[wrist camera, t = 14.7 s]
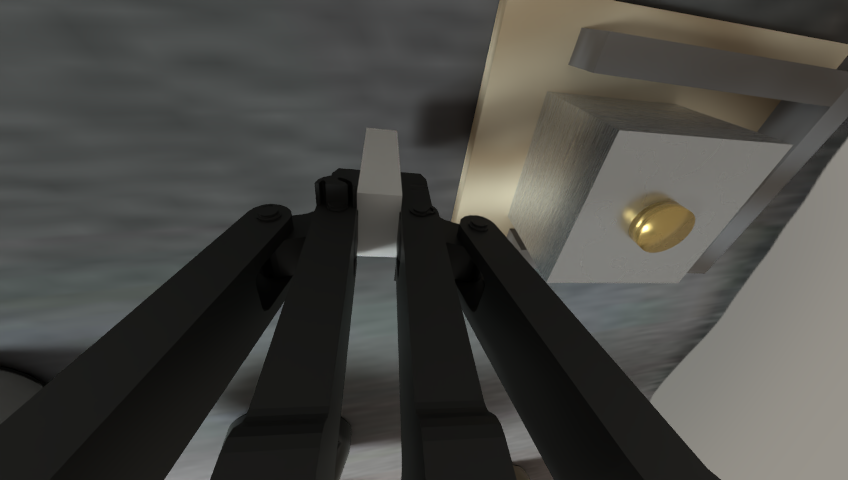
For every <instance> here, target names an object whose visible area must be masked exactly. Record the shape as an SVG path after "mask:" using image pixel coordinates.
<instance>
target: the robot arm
mask: <svg viewBox="0 0 848 480" xmlns="http://www.w3.org/2000/svg"><path fill="white" fill-rule="evenodd" d="M428 191H429V190H428V187H427V181H426V179H425V178H424V177H423V176H422V175H421V174H415V173H403V172H400V161H399V149H398V137H397V131H394V130H384V129H374V128H367V130H366V136H365V143H364V149H363V156H362V163H361V169H360V170H354V169H341V168H339V169H337V170H336V171H335V172H333V173H332V176H327V177H323V178H320V179H318V180H317V181H316V182H315V193H316V204H317V206H316V209H315V211H314V212H311V213H307V214H302V215H294V216H292V214H291V210H289V209H288V208H287V207H285V206H282V205H276V204H268V205H267V204H266V205H261V206H258V207H255V208H253V209H252V210H250V211H248V212H247V213H246V214H245V215H244V216H242V217H241V218H240V219H239V220H238V221H237V222H235V223H234V224H233V225H232V226H231V227H230V228H228V229H227V230H226V231H225V232H224V233H223V234H221V235H220V236H219V237H218V238H217V239H216V240H214V241H213V242H212V243H211V244H210V245H209V246H207V247H206V248H205V249H204V250H203V251H202V252H200V253H199V254H198V255H197V256H196V257H195V258H193V259H192V260H191V261H190V262H189V263H188V264H187V265H185V266H184V267H183V268H182V269H181V270H180V271H178V272H177V273H176V274H175V275H174V276H173V277H171V278H170V279H169V280H168V281H167V282H166V283H164V284H163V285H162V286H161V287H160V288H159V289H157V290H156V291H155V292H154V293H153V294H152V295H150V296H149V297H148V298H147V299H146V300H145V301H143V302H142V303H141V304H140V305H139V306H138V307H136V308H135V309H134V310H133V311H132V312H131V313H129V314H128V315H127V316H126V317H125V318H124V319H122V320H121V321H120V322H119V323H118V324H117V325H115V326H114V327H113V328H112V329H111V330H110V331H108V332H107V333H106V334H105V335H104V336H103V337H101V338H100V339H99V340H98V341H97V342H96V343H94V344H93V345H92V346H91V347H90V348H89V349H87V350H86V351H85V352H84V353H83V354H82V355H80V356H79V357H78V358H77V359H76V360H75V361H73V362H72V363H71V364H70V365H69V366H68V367H66V368H65V369H64V370H63V371H62V372H61V373H59V374H58V375H57V376H56V377H55V378H54V379H52V380H51V381H50V382H49V383H48V384H47V385H45V386H44V387H43V388H42V389H41V390H40V391H39V392H37V393H36V394H35V395H34V396H33V397H32V398H30V399H29V400H28V401H27V402H26V403H25V404H23V405H22V406H21V407H20V408H19V409H18V410H16V411H15V412H14V413H13V414H12V415H11V416H9V417H8V418H7V419H6V420H5V421H4V422H2V423H1V424H0V480H164V479H165V478H166V476H167V475H168V473H169V472H170V470H171V469H172V467H173V466H174V464H175V463H176V461H177V460H178V458H179V457H180V455H181V454H182V452H183V451H184V449H185V448H186V446H187V445H188V443H189V442H190V440H191V439H192V437H193V436H194V435H195V433H196V432H197V430H198V429H199V427H200V426H201V424H202V423H203V421H204V420H205V418H206V417H207V415H208V414H209V412H210V411H211V409H212V408H213V406H214V405H215V403H216V402H217V400H218V399H219V397H220V396H221V394H222V393H223V392H224V390H225V389H226V387H227V386H228V384H229V383H230V381H231V380H232V378H233V377H234V375H235V374H236V372H237V371H238V369H239V368H240V366H241V365H242V363H243V362H244V360H245V359H246V357H247V356H248V354H249V353H250V351H251V350H252V349H253V347H254V346H255V344H256V343H257V341H258V340H259V338H260V337H261V335H262V334H263V332H264V331H265V329H266V328H267V326H268V325H269V323H270V322H271V320H272V319H273V317H274V316H275V314H276V313H277V311H278V310H279V308H280V307H281V305H282V304H283V303H284V305H283V308H282V311H281V314H280V317H279V320H278V323H277V326H276V329H275V332H274V335H273V338H272V341H271V344H270V347H269V350H268V353H267V356H266V359H265V362H264V365H263V368H262V371H261V374H260V377H259V380H258V384H257V387H256V390H255V393H254V396H253V399H252V402H251V405H250V408H249V410H248V413H247V414H246V415H244V416H242V417H240V418H238V419H237V420H235V421H234V422H233V423H232V424H231V425H230V427H229V429H228V432H227V435H226V438H225V440H224V443H223V446H222V450H221V452H220V454H219V457H218V460H217V462H216V465H215V468H214V471H213V473H212V476H211V479H210V480H339V479H340V477H341V474H342V471H343V468H344V465H345V463H346V460H347V457H348V454H349V450H350V442H351V427H350V425H349V424H348V423H347V422H346V421H345V420H344V419H342V418H341V407H342V398H343V389H344V379H345V370H346V360H347V351H348V342H349V332H350V323H351V314H352V304H353V295H354V286H355V276H356V267H357V256H375V257H396V254H397V259H396V269H395V278H394V281H396V289H397V320H398V351H399V382H400V414H401V445H402V477H401V480H517V479H516V475H515V472H514V468H513V464H512V460H511V457H510V453H509V449H508V446H507V442H506V438H505V435H504V432H503V429H502V426H501V424H500V422H499V420H498V419H497V417H496V415H494V414H492V413H490V412H489V411H488V410H487V408H486V406H485V403H484V399H483V395H482V391H481V387H480V383H479V379H478V375H477V370H476V366H475V362H474V358H473V354H472V350H471V345H470V341H469V337H468V333H467V329H466V325H465V321H464V316H463V312H464V314H465V316H466V318H467V320H468V321H469V323H470V325H471V327H472V329H473V331H474V332H475V334H476V336H477V338H478V340H479V342H480V344H481V345H482V347H483V349H484V351H485V353H486V355H487V357H488V358H489V360H490V362H491V364H492V366H493V368H494V369H495V371H496V373H497V375H498V377H499V379H500V381H501V382H502V384H503V386H504V388H505V390H506V392H507V394H508V395H509V397H510V399H511V401H512V403H513V405H514V406H515V408H516V410H517V412H518V414H519V416H520V418H521V419H522V421H523V423H524V425H525V427H526V429H527V431H528V432H529V434H530V436H531V438H532V440H533V442H534V443H535V445H536V447H537V449H538V451H539V453H540V455H541V456H542V458H543V460H544V462H545V464H546V466H547V468H548V469H549V471H550V473H551V475H552V477H553V479H554V480H721V479H719V478H718V477H717V476H716V475H715V474H713V473H712V472H711V471H710V470H708V469H707V468H706V466H705V465H704V464H703V463H702V462H701V461H700V459H699V458H698V457H697V456H696V455H695V454H694V453H693V452H692V450H691V449H690V448H689V447H688V446H687V445H686V443H685V442H684V441H683V440H682V439H681V438H680V436H679V435H678V434H677V433H676V432H675V431H674V430H673V428H672V427H671V426H670V425H669V424H668V423H667V421H666V420H665V419H664V418H663V417H662V416H661V415H660V413H659V412H658V411H657V410H656V409H655V408H654V407H653V405H652V404H651V403H650V402H649V401H648V400H647V398H646V397H645V396H644V395H643V394H642V393H641V392H640V390H639V389H638V388H637V387H636V386H635V385H634V383H633V382H632V381H631V380H630V379H629V378H628V377H627V375H626V374H625V373H624V372H623V371H622V370H621V369H620V367H619V366H618V365H617V364H616V363H615V362H614V360H613V359H612V358H611V357H610V356H609V355H608V354H607V352H606V351H605V350H604V349H603V348H602V347H601V346H600V344H599V343H598V342H597V341H596V340H595V339H594V337H593V336H592V335H591V334H590V333H589V332H588V331H587V329H586V328H585V327H584V326H583V325H582V324H581V322H580V321H579V320H578V319H577V318H576V317H575V316H574V314H573V313H572V312H571V311H570V310H569V309H568V308H567V306H566V305H565V304H564V303H563V302H562V301H561V299H560V298H559V297H558V296H557V295H556V294H555V293H554V291H553V290H552V289H551V288H550V287H549V286H548V285H547V283H546V282H545V281H544V280H543V279H542V278H541V276H540V275H539V274H538V273H537V272H536V271H535V270H534V268H533V267H532V266H531V265H530V264H529V263H528V261H527V260H526V259H525V258H524V257H523V256H522V255H521V253H520V252H519V251H518V250H517V249H516V248H515V247H514V245H513V244H512V243H511V242H510V241H509V240H508V238H507V237H506V236H505V235H504V234H503V233H502V232H501V230H500V229H499V228H498V227H497V226H496V225H495V224H494V223H493V222H492V221H491V220H489V219H487V218H485V217H482V216H478V215H469V216H464V217H463V218H462V219H461V220H460V223H459V224H457V223H453V222H450V221H446V220H444V219H442V218H440V217H439V213H438V211H437V209H436V208H435V207H433V206H432V204H431V199H430V195H429V192H428ZM284 301H285V302H284ZM462 310H463V312H462Z"/></svg>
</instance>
